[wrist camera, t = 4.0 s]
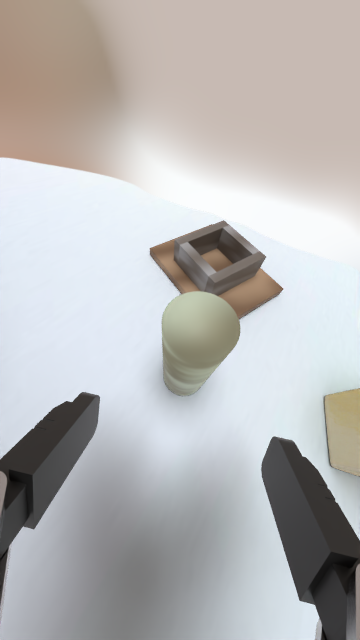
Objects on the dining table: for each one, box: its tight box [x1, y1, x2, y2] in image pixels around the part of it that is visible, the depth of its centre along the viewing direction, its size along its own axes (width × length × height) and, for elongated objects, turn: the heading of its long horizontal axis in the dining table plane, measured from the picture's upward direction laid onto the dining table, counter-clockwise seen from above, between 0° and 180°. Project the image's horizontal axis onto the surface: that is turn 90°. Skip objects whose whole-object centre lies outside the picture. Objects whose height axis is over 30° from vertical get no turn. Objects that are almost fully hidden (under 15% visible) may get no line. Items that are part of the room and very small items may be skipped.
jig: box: [150, 221, 283, 319], centre depth 27 cm, size 16×12×5 cm
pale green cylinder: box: [162, 291, 240, 396], centre depth 16 cm, size 4×4×12 cm
